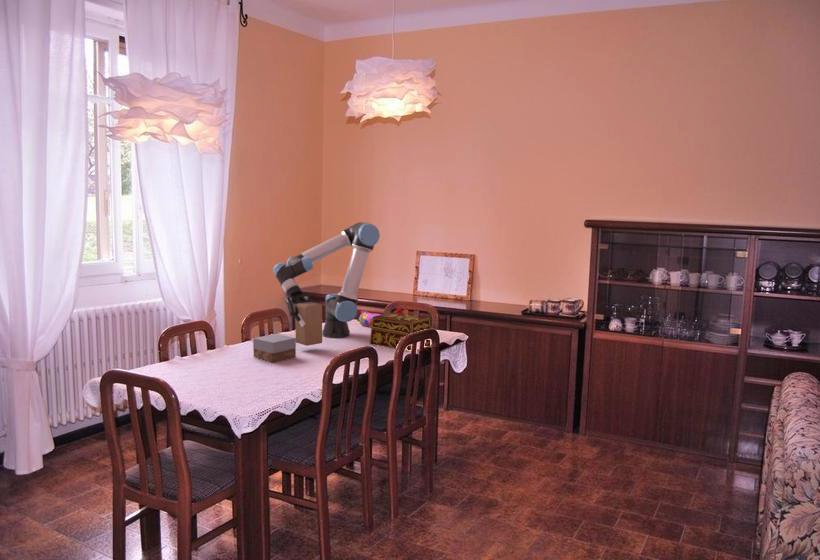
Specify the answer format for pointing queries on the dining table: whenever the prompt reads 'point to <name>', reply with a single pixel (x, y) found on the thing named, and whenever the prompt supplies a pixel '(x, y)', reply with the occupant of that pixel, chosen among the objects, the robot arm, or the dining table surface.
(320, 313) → the wooden block
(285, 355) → the tower base block
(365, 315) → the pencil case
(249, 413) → the dining table surface
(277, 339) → the tower top block
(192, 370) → the dining table surface
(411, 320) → the decorative box
